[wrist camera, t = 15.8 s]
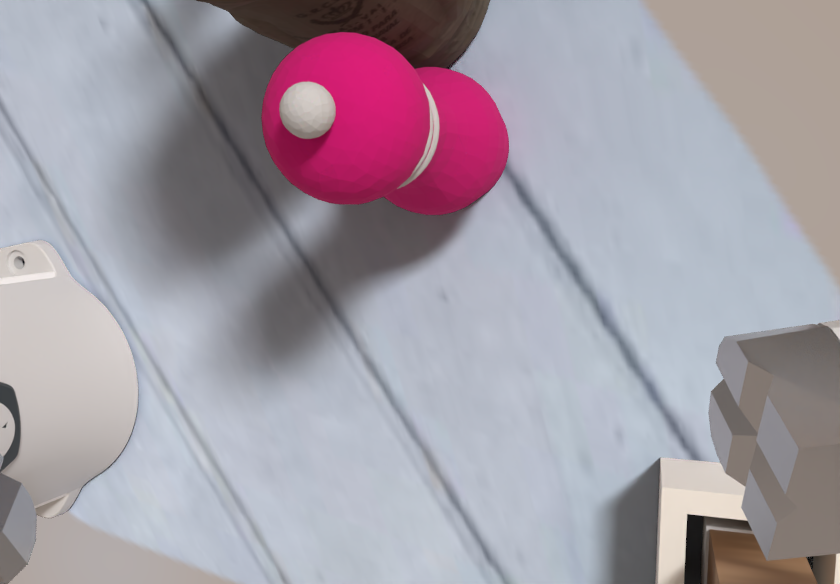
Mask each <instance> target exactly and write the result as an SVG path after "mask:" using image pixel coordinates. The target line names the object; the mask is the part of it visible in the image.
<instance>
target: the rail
mask: <svg viewBox="0 0 840 584" xmlns="http://www.w3.org/2000/svg"><path fill="white" fill-rule="evenodd" d="M700 584H818V583H817V581H816V579H815V576H814V574H813V572H812V570H811V567H810V565H809V563H808V560H807V558H806V557H800V558H790V559H780V560H770V561H767V560H766V558H765V556H764V554H763V552H762V550H761V548H760V546H759V544H758V541H757V539H756V537H755V535H754V533H753V531H752V529H751V527H750V525H749V523H748V521H746V520H737V519H728V518H719V517H710V516H703V537H702V558H701V580H700Z"/></svg>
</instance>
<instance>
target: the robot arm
mask: <svg viewBox="0 0 840 584" xmlns="http://www.w3.org/2000/svg"><path fill="white" fill-rule="evenodd" d="M23 259H24V262H25V265H23ZM716 364H717V366H718V368H719V370H720V372H721V374H722V376H723V378H724V379H723V380H722V381H721V382H720V383H719V384H718V385H717V386H716V387H715V388H714V389H713V390H712V391H711V396H710V404H709V421H710V430H711V437H712V440H713V444H714V447H715V450H716V453H717V456H718V458H719V460H720V463H721V465H722V467H723V469H724V471H725V473H726V474H727V475H729V476H730V477H732V478H733V479H735V480H736V481H738V482H739V483H740V484H742V485H743V486H745V492H744V497H743V501H742V506H741V508H742V510H743V512H744V514H745V516H746V518H747V521H748V523H749V525H750V527H751V529H752V531H753V533H754V535H755V537H756V539H757V541H758V544H759V546H760V548H761V550H762V552H763V554H764V556H765V558H766V560H767V561H770V560H780V559H790V558H800V557H810V556H820V555H830V554H840V320H837V321H830V322H823V323H819V324H817V325H816V324H809V325H802V326H796V327H789V328H782V329H775V330H768V331H761V332H754V333H747V334H740V335H733V336H726V337H724V339H723V340H722V342H721V344H720V345H719V348H718V354H717V359H716ZM137 407H138V380H137V373H136V368H135V363H134V359H133V356H132V353H131V350H130V347H129V344H128V342H127V340H126V338H125V336H124V333H123V332H122V330H121V328H120V326H119V325H118V323H117V321H116V320H115V318H114V317H113V316H112V314H111V313H110V312H109V311H108V309H107V308H106V307H105V306H104V305H103V304H102V303H101V302H100V301H99V300H98V299H97V298H96V297H95V296H94V295H93V294H91V293H90V292H89V291H88V290H86V289H85V288H84V287H83V286H81V285H80V284H79V283H78V282H77V281H76V280H75V279H74V278H73V277H72V276H71V275H70V273H69V271H68V269H67V268H66V266H65V264H64V262H63V261H62V259H61V257H60V256H59V254H58V253H57V251H56V250H55V249H54V248H53V247H52V245H50V244H49V243H48V242H46V241H43V240H37V241H32V242H27V243H23V244H18V245H14V246H9V247H5V248H0V584H8V583H9V582H10V581H11V580H12V579H13V578H14V577H15V576H16V575H17V574H18V573H19V572H20V571H21V570H22V569H23V568H24V567H25V566H26V565H27V564H28V562H29V559H30V556H31V553H32V550H33V547H34V544H35V541H36V520H37V515H38V516H41V517H44V518H53V517H56V516H58V515H61V514H64V513H65V512H67V511H68V510H69V508H70V507H71V506H72V504H73V503H74V501H75V499H76V498H77V496H78V494H79V492H80V490H81V488H82V486H83V485H84V484H86V483H87V482H88V481H89V480H90V479H92V478H93V477H95V476H97V475H98V474H100V473H101V472H103V471H104V470H105V469H106V468H108V467H109V466H110V465H111V464H112V463H113V462H114V461H115V460H116V459H117V457H118V456H119V455H120V453H121V452H122V451H123V449H124V447H125V446H126V444H127V442H128V440H129V437H130V435H131V433H132V430H133V427H134V423H135V419H136V414H137Z"/></svg>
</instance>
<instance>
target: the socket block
mask: <svg viewBox="0 0 840 584" xmlns="http://www.w3.org/2000/svg"><path fill="white" fill-rule="evenodd" d="M744 492H745V486H743V485H742V484H740V483H739V482H738V481H736V480H735V479H733V478H732V477H730V476H729V475H727V474H726V473H725V471H724V469H723V467H722V465H721V463H717V462H706V461H695V460H684V459H673V458H662V457H661V458H660V483H659V508H658V533H657V558H656V583H655V584H684V573H685V550H686V528H687V514H691V515H700V516H710V517H719V518H728V519H737V520H746V521H747V518H746V516H745V514H744V512H743V510H742V508H741V506H742V501H743V497H744ZM812 572H813V574H814V576H815V579H816V581H817V583H818V584H840V554H830V555H820V556H813V570H812Z"/></svg>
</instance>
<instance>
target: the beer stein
mask: <svg viewBox="0 0 840 584" xmlns="http://www.w3.org/2000/svg"><path fill="white" fill-rule="evenodd" d="M196 1H201V2H207V3H210V4H212V5H214V6H216V7H219V8H221V9H224V10H226V11H228V12H229V13H230V14H231V15H232V16H233V17H234V18H235V19H236V21H238V22H239V23H241V24H242V25H244V26H246V27H248V28H250V29H252V30H254V31H255V32H257V33H258V34H261V35H263V36H266V37H268V38H271V39H273V40H276V41H278V42H280V43H282V44H285V45H287V46H289V47H291V48H294V49H295V48H296V47H297V46H299V45H301V44H303V43H305V42H306V41H308V40H310V39H312V38H315V37H318V36H321V35H324V34H330V33H339V32H350V33H358V34H362V35H366V36H370V37H374V38H376V39H378V40H380V41H382V42H384V43H386V44H387V45H389V46H391V47H393V48H394V49H396V50H397V51H398V52H399V53H400V54H401V55H403V57H404V58H405V59H406V60H407V61H408V62H409V63H410V64H411V65H412V66H413V68H414V69H417V68H422V67H439V68H446V67H448V66H449V65H450V64H451V63H452V62H454V61H455V60H456V59H457V58H458V57H459V56H460V55H461V54H462V53H463V52H464V51H465V50H466V48H467V47H468V45H469V44H470V42H471V41H472V40H473V38H474V37H475V35H476V34H477V32H478V31H479V29H480V27H481V25H482V22H483V20H484V17H485V14H486V11H487V9H488V5H489V2H490V0H196Z"/></svg>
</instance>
